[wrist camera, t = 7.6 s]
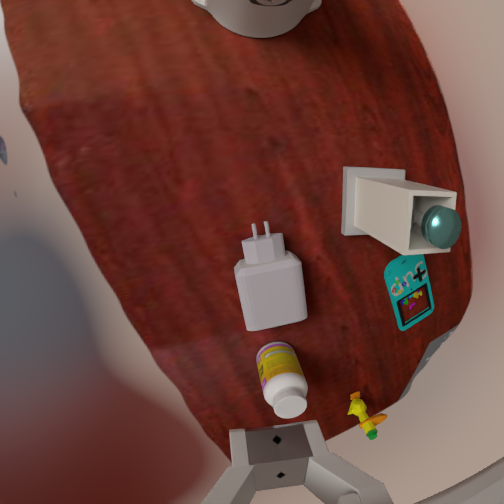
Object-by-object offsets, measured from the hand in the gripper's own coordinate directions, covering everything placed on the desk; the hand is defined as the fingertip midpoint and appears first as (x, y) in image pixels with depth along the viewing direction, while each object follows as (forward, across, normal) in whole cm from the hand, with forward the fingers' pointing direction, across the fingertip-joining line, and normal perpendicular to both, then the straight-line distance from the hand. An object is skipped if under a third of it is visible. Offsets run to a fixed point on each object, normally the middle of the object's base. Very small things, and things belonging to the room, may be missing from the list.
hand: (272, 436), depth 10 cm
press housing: (+37, -22, -2) cm, 43 cm away
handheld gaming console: (+38, -32, +14) cm, 51 cm away
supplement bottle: (+37, -7, +24) cm, 45 cm away
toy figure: (+37, -24, +37) cm, 58 cm away
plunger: (+31, -22, -2) cm, 38 cm away
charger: (+38, -5, +8) cm, 39 cm away
